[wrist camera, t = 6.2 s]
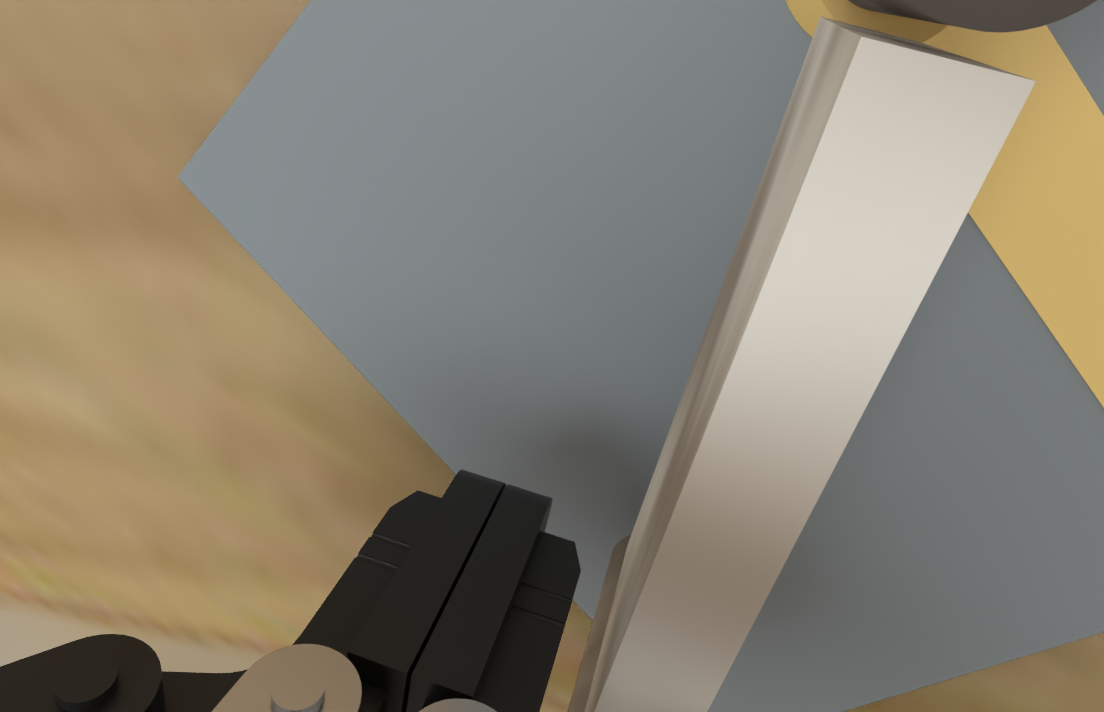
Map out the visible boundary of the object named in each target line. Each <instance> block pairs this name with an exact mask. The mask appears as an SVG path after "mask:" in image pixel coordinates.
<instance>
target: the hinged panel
mask: <svg viewBox="0 0 1104 712" xmlns="http://www.w3.org/2000/svg"><path fill="white" fill-rule="evenodd" d="M848 1H850V2H851V3H853V4H854V5H856V6H858V7H860V8H863V9H866V10H869V11H874V12H880V13H885V14H891V15H896V16H901V17H907V18H912V19H917V20H923V21H928V22H934V23H939V24H944V25H950V26H955V27H960V28H966V29H971V30H977V31H983V32H1002V33H1003V32H1014V31H1023V30H1028V29H1032V28H1037V27H1041V26H1044V25H1047V24H1050V23H1053V22H1056V21H1059V20H1061V19H1063V18H1066V17H1068V16H1070V15H1072V14H1074V13H1077V12H1079V11H1080V10H1082V9H1084V8H1086V7H1087V6H1089V5H1091V4H1092V3H1094V2H1096V1H1097V0H848ZM1035 83H1036V81H1035V80H1032V79H1029V78H1026V77H1023V76H1020V75H1017V74H1014V73H1011V72H1008V71H1005V70H1002V69H999V68H996V67H993V66H990V65H987V64H984V63H981V62H978V61H975V60H972V59H969V58H966V57H963V56H960V55H957V54H954V53H951V52H948V51H945V50H942V49H939V48H936V47H933V46H930V45H927V44H924V43H921V42H918V41H915V40H911V39H907V38H903V37H899V36H895V35H891V34H887V33H883V32H879V31H875V30H871V29H867V28H863V27H859V26H855V25H851V24H847V23H844V22H840V21H836V20H832V19H828V18H824V17H820V19H819V21H818V24H817V27H816V30H815V32H814V35H813V38H812V41H811V43H810V46H809V49H808V52H807V54H806V57H805V60H804V63H803V65H802V68H801V71H800V74H799V76H798V79H797V82H796V84H795V87H794V90H793V93H792V95H791V98H790V101H789V104H788V106H787V109H786V112H785V115H784V117H783V120H782V123H781V126H780V128H779V131H778V134H777V137H776V139H775V142H774V145H773V148H772V150H771V153H770V156H769V158H768V161H767V164H766V167H765V169H764V172H763V175H762V178H761V180H760V183H759V186H758V189H757V191H756V194H755V197H754V200H753V202H752V205H751V208H750V211H749V213H748V216H747V219H746V222H745V224H744V227H743V230H742V232H741V235H740V238H739V241H738V243H737V246H736V249H735V252H734V254H733V257H732V260H731V263H730V265H729V268H728V271H727V274H726V276H725V279H724V282H723V285H722V287H721V290H720V293H719V296H718V298H717V301H716V304H715V306H714V309H713V312H712V315H711V317H710V320H709V323H708V326H707V328H706V331H705V334H704V337H703V339H702V342H701V345H700V348H699V350H698V353H697V356H696V359H695V361H694V364H693V367H692V370H691V372H690V375H689V378H688V380H687V383H686V386H685V389H684V391H683V394H682V397H681V400H680V402H679V405H678V408H677V411H676V413H675V416H674V419H673V422H672V424H671V427H670V430H669V433H668V435H667V438H666V441H665V444H664V446H663V449H662V452H661V454H660V457H659V460H658V463H657V465H656V468H655V471H654V474H653V476H652V479H651V482H650V485H649V487H648V490H647V493H646V496H645V498H644V501H643V504H642V507H641V509H640V512H639V515H638V518H637V520H636V523H635V526H634V528H633V531H632V534H631V535H629V536H626V537H625V538H623V539H621V540H620V541H619V542H618V543H617V544H616V546H615V547H614V549H613V551H612V555H611V558H610V562H609V566H608V569H607V573H606V576H605V580H604V583H603V587H602V591H601V594H600V598H599V601H598V605H597V608H596V612H595V615H594V619H593V623H592V626H591V630H590V633H589V637H588V640H587V644H586V648H585V651H584V655H583V658H582V662H581V665H580V669H579V672H578V676H577V680H576V683H575V687H574V690H573V694H572V697H571V701H570V704H569V708H568V712H707V711H708V710H709V708H710V706H711V704H712V702H713V700H714V698H715V696H716V694H717V692H718V690H719V688H720V687H721V685H722V683H723V681H724V679H725V677H726V675H727V673H728V671H729V669H730V667H731V665H732V664H733V662H734V660H735V658H736V656H737V654H738V652H739V650H740V648H741V646H742V644H743V642H744V641H745V639H746V637H747V635H748V633H749V631H750V629H751V627H752V625H753V623H754V621H755V619H756V618H757V616H758V614H759V612H760V610H761V608H762V606H763V604H764V602H765V600H766V598H767V596H768V595H769V593H770V591H771V589H772V587H773V585H774V583H775V581H776V579H777V577H778V575H779V573H780V572H781V570H782V568H783V566H784V564H785V562H786V560H787V558H788V556H789V554H790V552H791V550H792V549H793V547H794V545H795V543H796V541H797V539H798V537H799V535H800V533H801V531H802V529H803V527H804V526H805V524H806V522H807V520H808V518H809V516H810V514H811V512H812V510H813V508H814V506H815V504H816V503H817V501H818V499H819V497H820V495H821V493H822V491H823V489H824V487H825V485H826V483H827V481H828V480H829V478H830V476H831V474H832V472H833V470H834V468H835V466H836V464H837V462H838V460H839V458H840V457H841V455H842V453H843V451H844V449H845V447H846V445H847V443H848V441H849V439H850V437H851V435H852V434H853V432H854V430H855V428H856V426H857V424H858V422H859V420H860V418H861V416H862V414H863V412H864V411H865V409H866V407H867V405H868V403H869V401H870V399H871V397H872V395H873V393H874V391H875V389H876V388H877V386H878V384H879V382H880V380H881V378H882V376H883V374H884V372H885V370H886V368H887V366H888V364H889V363H890V361H891V359H892V357H893V355H894V353H895V351H896V349H897V347H898V345H899V343H900V341H901V340H902V338H903V336H904V334H905V332H906V330H907V328H908V326H909V324H910V322H911V320H912V318H913V317H914V315H915V313H916V311H917V309H918V307H919V305H920V303H921V301H922V299H923V297H924V295H925V294H926V292H927V290H928V288H929V286H930V284H931V282H932V280H933V278H934V276H935V274H936V272H937V271H938V269H939V267H940V265H941V263H942V261H943V259H944V257H945V255H946V253H947V251H948V249H949V248H950V246H951V244H952V242H953V240H954V238H955V236H956V234H957V232H958V230H959V228H960V226H961V225H962V223H963V221H964V219H965V217H966V215H967V213H968V211H969V209H970V207H971V205H972V203H973V202H974V200H975V198H976V196H977V194H978V192H979V190H980V188H981V186H982V184H983V182H984V180H985V179H986V177H987V175H988V173H989V171H990V169H991V167H992V165H993V163H994V161H995V159H996V157H997V156H998V154H999V152H1000V150H1001V148H1002V146H1003V144H1004V142H1005V140H1006V138H1007V136H1008V134H1009V133H1010V131H1011V129H1012V127H1013V125H1014V123H1015V121H1016V119H1017V117H1018V115H1019V113H1020V111H1021V110H1022V108H1023V106H1024V104H1025V102H1026V100H1027V98H1028V96H1029V94H1030V92H1031V90H1032V88H1033V87H1034V85H1035Z"/></svg>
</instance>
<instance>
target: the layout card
mask: <svg viewBox="0 0 1104 712" xmlns="http://www.w3.org/2000/svg"><path fill="white" fill-rule="evenodd" d="M820 17H824V18H828V19H832V20H836V21H840V22H844V23H847V24H851V25H855V26H859V27H863V28H867V29H871V30H875V31H879V32H883V33H887V34H891V35H895V36H899V37H903V38H907V39H911V40H915V41H918V42H921V43H924V44H927V45H930V46H933V47H936V48H939V49H942V50H945V51H948V52H951V53H954V54H957V55H960V56H963V57H966V58H969V59H972V60H975V61H978V62H981V63H984V64H987V65H990V66H993V67H996V68H999V69H1002V70H1005V71H1008V72H1011V73H1014V74H1017V75H1020V76H1023V77H1026V78H1029V79H1032V80H1035V81H1036V83H1035V85H1034V87H1033V88H1032V90H1031V92H1030V94H1029V96H1028V98H1027V100H1026V102H1025V104H1024V106H1023V108H1022V110H1021V111H1020V113H1019V115H1018V117H1017V119H1016V121H1015V123H1014V125H1013V127H1012V129H1011V131H1010V133H1009V134H1008V136H1007V138H1006V140H1005V142H1004V144H1003V146H1002V148H1001V150H1000V152H999V154H998V156H997V157H996V159H995V161H994V163H993V165H992V167H991V169H990V171H989V173H988V175H987V177H986V179H985V180H984V182H983V184H982V186H981V188H980V190H979V192H978V194H977V196H976V198H975V200H974V202H973V203H972V205H971V207H970V209H969V211H968V213H967V215H966V217H965V219H964V221H963V223H962V225H961V226H960V228H959V230H958V232H957V234H956V236H955V238H954V240H953V242H952V244H951V246H950V248H949V249H948V251H947V253H946V255H945V257H944V259H943V261H942V263H941V265H940V267H939V269H938V271H937V272H936V274H935V276H934V278H933V280H932V282H931V284H930V286H929V288H928V290H927V292H926V294H925V295H924V297H923V299H922V301H921V303H920V305H919V307H918V309H917V311H916V313H915V315H914V317H913V318H912V320H911V322H910V324H909V326H908V328H907V330H906V332H905V334H904V336H903V338H902V340H901V341H900V343H899V345H898V347H897V349H896V351H895V353H894V355H893V357H892V359H891V361H890V363H889V364H888V366H887V368H886V370H885V372H884V374H883V376H882V378H881V380H880V382H879V384H878V386H877V388H876V389H875V391H874V393H873V395H872V397H871V399H870V401H869V403H868V405H867V407H866V409H865V411H864V412H863V414H862V416H861V418H860V420H859V422H858V424H857V426H856V428H855V430H854V432H853V434H852V435H851V437H850V439H849V441H848V443H847V445H846V447H845V449H844V451H843V453H842V455H841V457H840V458H839V460H838V462H837V464H836V466H835V468H834V470H833V472H832V474H831V476H830V478H829V480H828V481H827V483H826V485H825V487H824V489H823V491H822V493H821V495H820V497H819V499H818V501H817V503H816V504H815V506H814V508H813V510H812V512H811V514H810V516H809V518H808V520H807V522H806V524H805V526H804V527H803V529H802V531H801V533H800V535H799V537H798V539H797V541H796V543H795V545H794V547H793V549H792V550H791V552H790V554H789V556H788V558H787V560H786V562H785V564H784V566H783V568H782V570H781V572H780V573H779V575H778V577H777V579H776V581H775V583H774V585H773V587H772V589H771V591H770V593H769V595H768V596H767V598H766V600H765V602H764V604H763V606H762V608H761V610H760V612H759V614H758V616H757V618H756V619H755V621H754V623H753V625H752V627H751V629H750V631H749V633H748V635H747V637H746V639H745V641H744V642H743V644H742V646H741V648H740V650H739V652H738V654H737V656H736V658H735V660H734V662H733V664H732V665H731V667H730V669H729V671H728V673H727V675H726V677H725V679H724V681H723V683H722V685H721V687H720V688H719V690H718V692H717V694H716V696H715V698H714V700H713V702H712V704H711V706H710V708H709V710H708V711H707V712H844V711H847V710H850V709H854V708H857V707H860V706H863V705H867V704H870V703H873V702H877V701H880V700H883V699H886V698H890V697H893V696H896V695H899V694H903V693H906V692H909V691H913V690H916V689H919V688H922V687H926V686H929V685H932V684H936V683H939V682H942V681H945V680H949V679H952V678H955V677H958V676H962V675H965V674H968V673H972V672H975V671H978V670H981V669H985V668H988V667H991V666H995V665H998V664H1001V663H1004V662H1008V661H1011V660H1014V659H1018V658H1021V657H1024V656H1027V655H1031V654H1034V653H1037V652H1040V651H1044V650H1047V649H1050V648H1054V647H1057V646H1060V645H1063V644H1067V643H1070V642H1073V641H1077V640H1080V639H1083V638H1086V637H1090V636H1093V635H1096V634H1099V633H1103V632H1104V0H1097V1H1096V2H1094V3H1092V4H1091V5H1089V6H1087V7H1086V8H1084V9H1082V10H1080V11H1079V12H1077V13H1074V14H1072V15H1070V16H1068V17H1066V18H1063V19H1061V20H1059V21H1056V22H1053V23H1050V24H1047V25H1044V26H1041V27H1037V28H1032V29H1028V30H1023V31H1014V32H1003V33H1002V32H983V31H977V30H971V29H966V28H960V27H955V26H950V25H944V24H939V23H934V22H928V21H923V20H917V19H912V18H907V17H901V16H896V15H891V14H885V13H880V12H874V11H869V10H866V9H863V8H860V7H858V6H856V5H854V4H853V3H851V2H850V1H848V0H311V1H310V3H309V4H308V5H307V6H306V8H305V9H304V10H303V12H302V13H301V14H300V16H299V17H298V18H297V20H296V21H295V22H294V24H293V25H292V26H291V28H290V29H289V30H288V32H287V33H286V34H285V35H284V37H283V38H282V39H281V41H280V42H279V43H278V45H277V46H276V47H275V49H274V50H273V51H272V53H271V54H270V55H269V57H268V58H267V59H266V61H265V62H264V63H263V64H262V66H261V67H260V68H259V70H258V71H257V72H256V74H255V75H254V76H253V78H252V79H251V80H250V82H249V83H248V84H247V86H246V87H245V88H244V90H243V91H242V92H241V93H240V95H239V96H238V97H237V99H236V100H235V101H234V103H233V104H232V105H231V107H230V108H229V109H228V111H227V112H226V113H225V115H224V116H223V117H222V119H221V120H220V121H219V122H218V124H217V125H216V126H215V128H214V129H213V130H212V132H211V133H210V134H209V136H208V137H207V138H206V140H205V141H204V142H203V144H202V145H201V146H200V148H199V149H198V150H197V151H196V153H195V154H194V155H193V157H192V158H191V159H190V161H189V162H188V163H187V165H186V166H185V167H184V169H183V170H182V171H181V173H180V174H179V175H178V177H177V178H178V179H179V180H180V181H181V182H182V183H183V184H184V185H185V186H186V187H187V188H188V189H189V190H190V191H191V193H192V194H193V195H194V196H195V197H196V198H197V199H198V200H199V201H200V202H201V203H202V204H203V205H204V206H205V207H206V209H207V210H208V211H209V212H210V213H211V214H212V215H213V216H214V217H215V218H216V219H217V220H218V221H219V222H220V223H221V225H222V226H223V227H224V228H225V229H226V230H227V231H228V232H229V233H230V234H231V235H232V236H233V237H234V238H235V239H236V241H237V242H238V243H239V244H240V245H241V246H242V247H243V248H244V249H245V250H246V251H247V252H248V253H249V254H250V256H251V257H252V258H253V259H254V260H255V261H256V262H257V263H258V264H259V265H260V266H261V267H262V268H263V269H264V270H265V272H266V273H267V274H268V275H269V276H270V277H271V278H272V279H273V280H274V281H275V282H276V283H277V284H278V285H279V286H280V288H281V289H282V290H283V291H284V292H285V293H286V294H287V295H288V296H289V297H290V298H291V299H292V300H293V301H294V303H295V304H296V305H297V306H298V307H299V308H300V309H301V310H302V311H303V312H304V313H305V314H306V315H307V316H308V317H309V319H310V320H311V321H312V322H313V323H314V324H315V325H316V326H317V327H318V328H319V329H320V330H321V331H322V332H323V333H324V335H325V336H326V337H327V338H328V339H329V340H330V341H331V342H332V343H333V344H334V345H335V346H336V347H337V348H338V349H339V351H340V352H341V353H342V354H343V355H344V356H345V357H346V358H347V359H348V360H349V361H350V362H351V363H352V364H353V366H354V367H355V368H356V369H357V370H358V371H359V372H360V373H361V374H362V375H363V376H364V377H365V378H366V379H367V380H368V382H369V383H370V384H371V385H372V386H373V387H374V388H375V389H376V390H377V391H378V392H379V393H380V394H381V395H382V396H383V398H384V399H385V400H386V401H387V402H388V403H389V404H390V405H391V406H392V407H393V408H394V409H395V410H396V411H397V413H398V414H399V415H400V416H401V417H402V418H403V419H404V420H405V421H406V422H407V423H408V424H409V425H410V426H411V427H412V429H413V430H414V431H415V432H416V433H417V434H418V435H419V436H420V437H421V438H422V439H423V440H424V441H425V442H426V443H427V445H428V446H429V447H430V448H431V449H432V450H433V451H434V452H435V453H436V454H437V455H438V456H439V457H440V458H441V459H442V461H443V462H444V463H445V464H446V465H447V466H448V467H449V468H450V469H451V470H452V471H453V472H454V473H455V474H457V473H458V472H459V471H460V470H461V469H463V470H466V471H469V472H472V473H475V474H478V475H482V476H485V477H488V478H491V479H494V480H497V481H500V482H503V483H506V485H507V484H510V485H513V486H516V487H519V488H522V489H526V490H529V491H532V492H535V493H538V494H541V495H544V496H547V497H550V498H552V499H553V500H552V505H551V510H550V514H549V517H548V521H547V525H546V529H545V532H546V533H549V534H552V535H555V536H558V537H561V538H564V539H567V540H570V541H573V542H575V545H576V550H577V554H578V559H579V564H580V568H581V573H580V576H579V579H578V583H577V586H576V589H575V593H574V596H573V600H574V602H575V603H576V604H577V605H578V606H579V607H580V608H581V609H582V610H583V611H584V612H585V613H586V614H587V615H588V616H589V618H590V619H591V620H592V621H593V619H594V615H595V612H596V608H597V605H598V601H599V598H600V594H601V591H602V587H603V583H604V580H605V576H606V573H607V569H608V566H609V562H610V558H611V555H612V551H613V549H614V547H615V546H616V544H617V543H618V542H619V541H620V540H621V539H623V538H625V537H626V536H629V535H631V534H632V531H633V528H634V526H635V523H636V520H637V518H638V515H639V512H640V509H641V507H642V504H643V501H644V498H645V496H646V493H647V490H648V487H649V485H650V482H651V479H652V476H653V474H654V471H655V468H656V465H657V463H658V460H659V457H660V454H661V452H662V449H663V446H664V444H665V441H666V438H667V435H668V433H669V430H670V427H671V424H672V422H673V419H674V416H675V413H676V411H677V408H678V405H679V402H680V400H681V397H682V394H683V391H684V389H685V386H686V383H687V380H688V378H689V375H690V372H691V370H692V367H693V364H694V361H695V359H696V356H697V353H698V350H699V348H700V345H701V342H702V339H703V337H704V334H705V331H706V328H707V326H708V323H709V320H710V317H711V315H712V312H713V309H714V306H715V304H716V301H717V298H718V296H719V293H720V290H721V287H722V285H723V282H724V279H725V276H726V274H727V271H728V268H729V265H730V263H731V260H732V257H733V254H734V252H735V249H736V246H737V243H738V241H739V238H740V235H741V232H742V230H743V227H744V224H745V222H746V219H747V216H748V213H749V211H750V208H751V205H752V202H753V200H754V197H755V194H756V191H757V189H758V186H759V183H760V180H761V178H762V175H763V172H764V169H765V167H766V164H767V161H768V158H769V156H770V153H771V150H772V148H773V145H774V142H775V139H776V137H777V134H778V131H779V128H780V126H781V123H782V120H783V117H784V115H785V112H786V109H787V106H788V104H789V101H790V98H791V95H792V93H793V90H794V87H795V84H796V82H797V79H798V76H799V74H800V71H801V68H802V65H803V63H804V60H805V57H806V54H807V52H808V49H809V46H810V43H811V41H812V38H813V35H814V32H815V30H816V27H817V24H818V21H819V19H820Z"/></svg>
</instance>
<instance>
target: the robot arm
mask: <svg viewBox="0 0 1104 712" xmlns="http://www.w3.org/2000/svg"><path fill="white" fill-rule="evenodd" d="M552 500H553V499H552V498H550V497H547V496H544V495H541V494H538V493H535V492H532V491H529V490H526V489H522V488H519V487H516V486H513V485H510V484H507V485H506V483H503V482H500V481H497V480H494V479H491V478H488V477H485V476H482V475H478V474H475V473H472V472H469V471H466V470H463V469H461V470H460V471H459V472H458V473H457V474H456V476H455V477H454V479H453V481H452V482H451V484H450V486H449V487H448V489H447V490H446V492H445V494H444V495H443V497H442V498H439V497H436V496H433V495H430V494H427V493H424V492H421V491H416V492H415V493H413V494H411V495H410V496H408V497H406V498H405V499H403V500H402V501H400V502H398V503H397V504H395V505H393V506H392V507H390V509H389V510H388V511H387V513H386V514H385V516H384V517H383V518H382V520H381V521H380V523H379V524H378V526H377V527H376V528H375V530H374V531H373V534H372V536H371V537H369V538H368V540H367V541H366V543H365V544H364V546H363V547H362V548H361V550H360V551H359V554H358V556H357V558H354V560H353V561H352V563H351V564H350V565H349V567H348V568H347V570H346V571H345V573H344V574H343V575H342V577H341V578H340V580H339V581H338V583H337V584H336V585H335V587H334V588H333V590H332V591H331V593H330V594H329V595H328V597H327V598H326V600H325V601H324V603H323V604H322V605H321V607H320V608H319V610H318V611H317V612H316V614H315V615H314V617H313V618H312V620H311V621H310V622H309V624H308V625H307V627H306V628H305V630H304V631H303V632H302V634H301V635H300V636H299V638H298V639H297V640H296V641H295V643H294V644H292V645H291V646H287V647H283V648H280V649H278V650H275V651H273V652H271V653H269V654H267V655H265V656H264V657H262V658H261V659H259V660H258V661H257V662H255V663H254V664H253V665H252V666H251V667H250V668H249V669H248V670H244V671H239V672H233V673H189V672H162V671H161V665H160V661H159V659H158V657H157V655H156V653H155V652H154V650H153V649H152V648H151V647H150V646H149V645H147V644H146V643H144V642H143V641H141V640H139V639H136V638H134V637H130V636H126V635H118V634H104V635H96V636H91V637H86V638H83V639H79V640H76V641H73V642H70V643H67V644H64V645H61V646H59V647H56V648H53V649H50V650H47V651H44V652H41V653H39V654H36V655H33V656H30V657H27V658H24V659H21V660H18V661H15V662H12V663H10V664H7V665H4V666H1V667H0V712H539V711H540V707H541V704H542V701H543V697H544V694H545V691H546V687H547V684H548V681H549V677H550V674H551V670H552V667H553V664H554V660H555V657H556V654H557V650H558V647H559V643H560V640H561V637H562V633H563V630H564V627H565V623H566V620H567V616H568V613H569V610H570V606H571V603H572V600H573V596H574V593H575V589H576V586H577V583H578V579H579V576H580V573H581V568H580V564H579V559H578V554H577V550H576V545H575V542H573V541H570V540H567V539H564V538H561V537H558V536H555V535H552V534H549V533H546V532H545V529H546V525H547V521H548V517H549V514H550V510H551V505H552Z"/></svg>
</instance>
